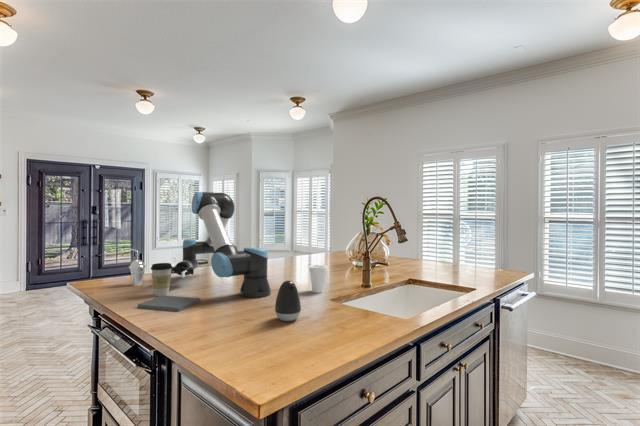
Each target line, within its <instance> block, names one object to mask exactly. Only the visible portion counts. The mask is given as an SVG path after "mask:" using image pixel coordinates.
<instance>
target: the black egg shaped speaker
mask: <svg viewBox="0 0 640 426" xmlns="http://www.w3.org/2000/svg"><path fill="white" fill-rule="evenodd" d="M301 311H302V306H301V298H300V294H299V291H298V288H297V286H296V284H295V283H294V282H293V281H292V280H285V281H283V282H282V283H281V285H280V287H279V289H278V292H277V295H276V298H275V303H274V312H275V315H276V317H277V318H278V319H279V320H280V321H282V322H283V321H284V322H292V321H295V320H297V319H298V318H299V316H300V314H301Z"/></svg>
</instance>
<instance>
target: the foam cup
mask: <svg viewBox="0 0 640 426" xmlns="http://www.w3.org/2000/svg"><path fill="white" fill-rule="evenodd" d="M308 269H309V275H310V276H309V277H310V283H311V284H310V285H311V292H312V293H315V294H316V293H317V294H321V293H324V292H325V289H326V281H327V274H328V265H324V264H312V265H309V267H308Z"/></svg>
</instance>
